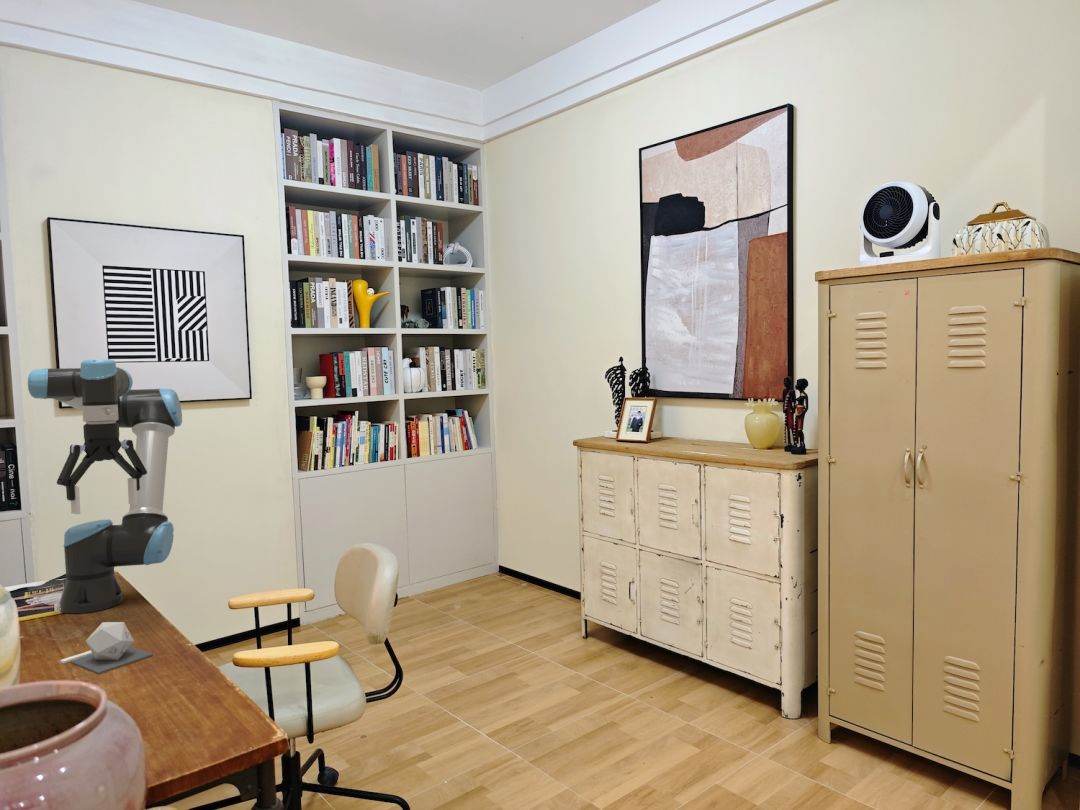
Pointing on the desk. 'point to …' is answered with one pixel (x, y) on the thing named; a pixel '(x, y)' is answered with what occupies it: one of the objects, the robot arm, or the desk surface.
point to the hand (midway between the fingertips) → (105, 508)
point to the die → (109, 641)
